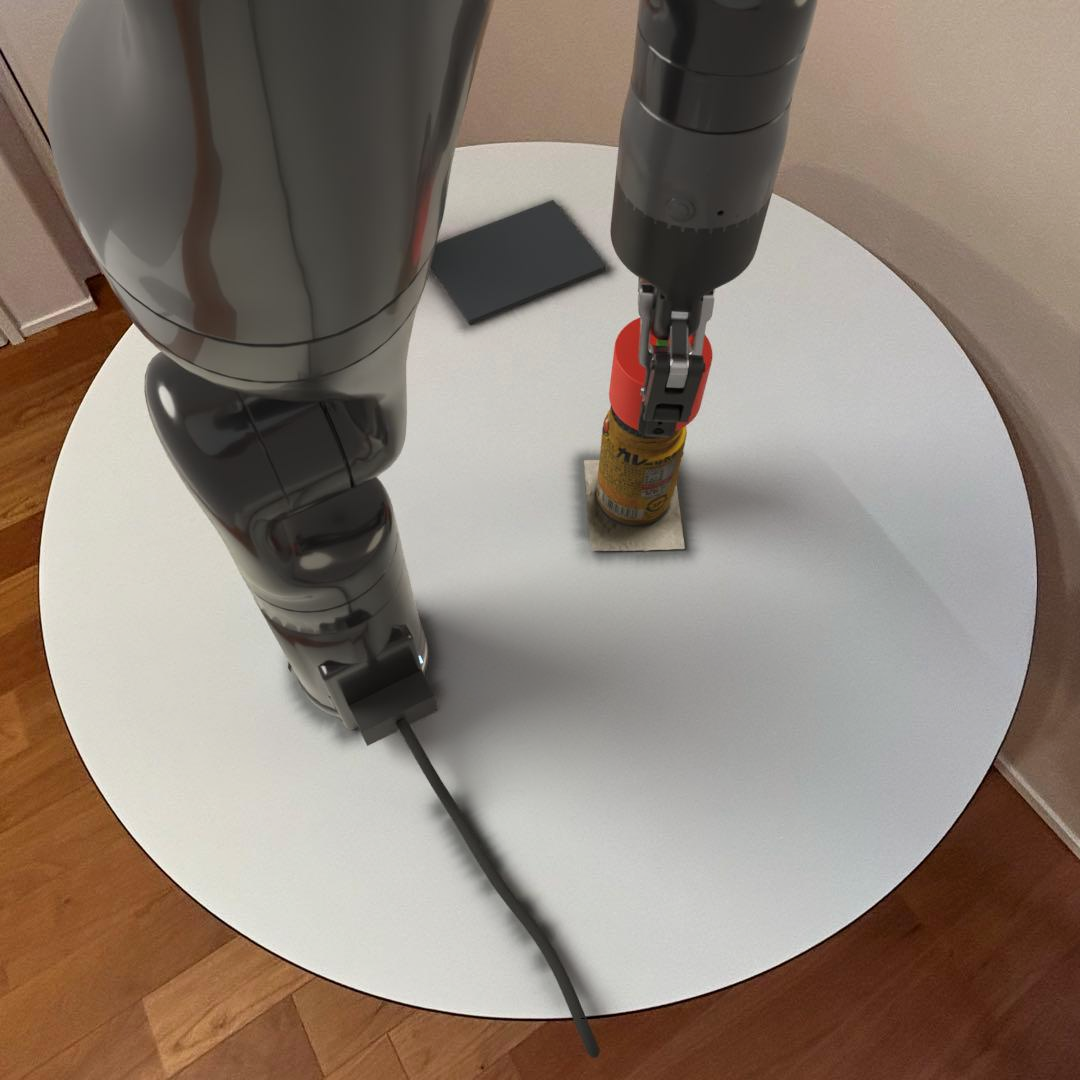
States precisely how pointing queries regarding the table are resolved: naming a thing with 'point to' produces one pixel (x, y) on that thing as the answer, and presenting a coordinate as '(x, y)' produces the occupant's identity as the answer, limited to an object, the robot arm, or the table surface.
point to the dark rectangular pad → (513, 261)
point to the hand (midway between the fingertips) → (655, 388)
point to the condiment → (634, 490)
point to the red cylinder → (642, 375)
